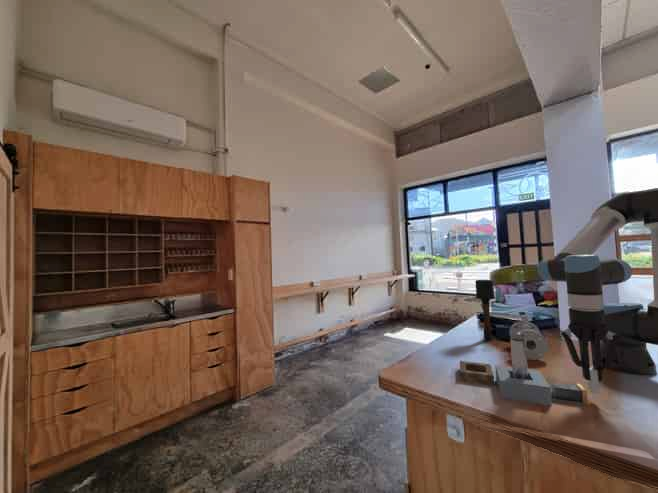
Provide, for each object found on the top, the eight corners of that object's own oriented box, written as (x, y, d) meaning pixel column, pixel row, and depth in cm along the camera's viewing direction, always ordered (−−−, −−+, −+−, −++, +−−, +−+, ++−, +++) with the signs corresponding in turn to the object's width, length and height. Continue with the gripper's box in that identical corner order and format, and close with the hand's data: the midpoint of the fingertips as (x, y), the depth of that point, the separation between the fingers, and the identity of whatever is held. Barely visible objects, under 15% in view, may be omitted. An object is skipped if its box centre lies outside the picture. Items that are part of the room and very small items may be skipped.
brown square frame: (491, 375, 98) (490, 364, 98) (494, 388, 89) (493, 375, 89) (460, 371, 102) (459, 360, 102) (460, 383, 93) (460, 371, 93)
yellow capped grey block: (581, 399, 79) (580, 384, 80) (588, 407, 75) (586, 391, 76) (551, 395, 82) (550, 380, 83) (556, 402, 78) (555, 386, 79)
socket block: (572, 393, 83) (570, 373, 84) (589, 414, 72) (587, 392, 73) (496, 383, 92) (495, 365, 92) (501, 401, 81) (500, 380, 81)
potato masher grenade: (501, 342, 131) (496, 280, 132) (481, 342, 133) (477, 281, 134) (494, 337, 139) (490, 279, 141) (476, 337, 141) (472, 279, 142)
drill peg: (527, 389, 85) (523, 332, 85) (530, 395, 81) (526, 335, 82) (512, 387, 87) (508, 330, 87) (514, 393, 83) (511, 334, 84)
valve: (550, 362, 107) (547, 323, 107) (514, 357, 113) (511, 321, 113) (539, 345, 126) (537, 312, 127) (509, 342, 132) (506, 311, 132)
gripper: (609, 306, 78) (617, 388, 77) (553, 305, 84) (560, 382, 83) (624, 311, 71) (633, 402, 71) (561, 310, 77) (569, 394, 76)
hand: (593, 391), depth 77 cm, fingers closed
